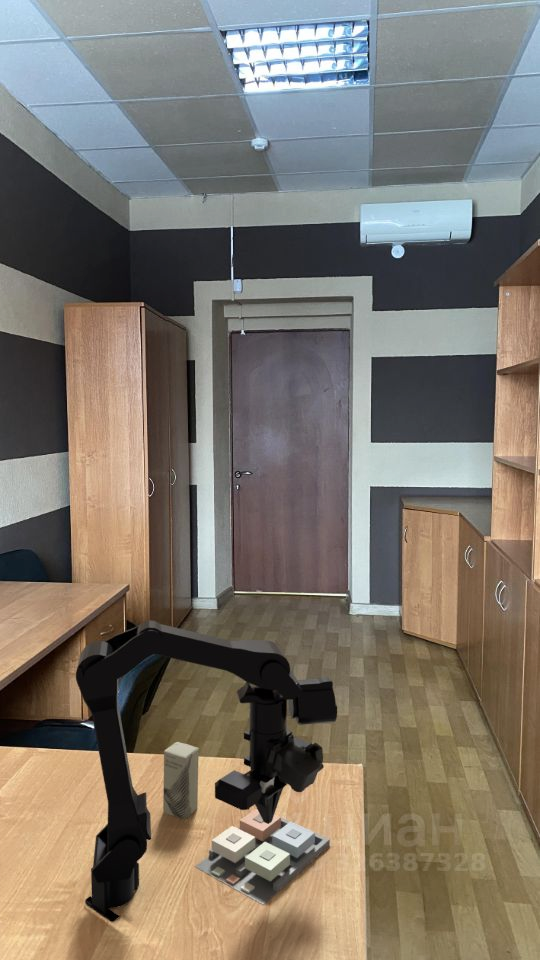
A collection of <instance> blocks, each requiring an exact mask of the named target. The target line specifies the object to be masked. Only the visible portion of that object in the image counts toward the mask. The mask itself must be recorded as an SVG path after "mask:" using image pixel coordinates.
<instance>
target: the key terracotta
mask: <svg viewBox="0 0 540 960" xmlns="http://www.w3.org/2000/svg"><path fill="white" fill-rule="evenodd" d="M281 818H282V817H281V816H279V815H276V814H275V813H274V817H273V820H272V822H271V823H269V824H267V823H265V822H264V821H263V819H262V817H261V815H260V813H259V811H258V809H257V807H256V808H255V809H253V810H252V811H251V812H249V813H247V814H246V815H245V816H244V817H242V818H240V820H239V828H240V830H242V831H244V832H246V833H248V834H250V835H252V836H254V837H255V838H257V839H259V840H261V841H264V840H265V839H267V838H268V837H269V836H270V835H272V834H273V833H274V832H275V831H277V830H278V829H279V828H281Z"/></svg>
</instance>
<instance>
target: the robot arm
mask: <svg viewBox="0 0 540 960" xmlns="http://www.w3.org/2000/svg"><path fill="white" fill-rule="evenodd" d="M152 655H157V656H161V657H165V658H170V659H175V660H178V661H183V662H187V663H191V664H195V665H199V666H200V665H201V666H205V667H209V668H213V669H217V670H223V671H225V672H228V673H231V674H232V675H235V676H236V677H238V678H239V679H241V680H242V681H244V682H245V683H244V685H243V686H241V687H240V688H239V689H237V690H236V695H237V698H238V701H239V703H240V704H249V729H248V730H247V729H246V731H244V732H243V739H244V740H246V741H248V742H249V754H248V755H246V756H245V757H243V765H245V766H246V767H249V768H250V770H249V771H246V773H242V772H240V771H237V770H235V769H234V770H232V771H231V772H229V773H227V774H225V775H224V776H222V777H221V778H220V779H218V780H217V781H216V782H215V783H214V798H215V799H216V800H218V801H221V802H223V803H226V804H227V805H230V806H231V807H234V808H236V809H238V810H240V811H247V810H249V809H250V808H252V807H253V806H254V805H255V807H256V808H257V809H258V811H259V813H260V815H261V817H262V819H263V821H264V822H265V823H267V824H269V823H271V822H272V820H273V817H274V814H275V813H276V809H277V807H278V805H279V804H278V803H279V801H280V798H281V794H282V792H283V789H284V788H285V787H286V786H290V789H292V790H293V791H294V792H296V793H301V792H302V793H303V792H304V791H305V790H306V789H307V788H308V787H310V786H311V785H313V784H314V783H315V781H316V779H317V775H318V773H319V772H320V771H322V770H324V764H323V763H324V752H323V747H322V746H321V745H320V744H319V743H317V742H314V743H312V742H311V741H310V742H309V741H307V740H304V739H301V738H297V737H295V736H294V734H293V731H291V730H288V728H287V725H288V724H287V723H288V721H287V720H288V719H287V718H288V714H287V713H289V717H290V719H291V720H292V719H293V720H294V719H296V723H297V724H298V726H302V725H315V724H316V725H317V724H327V723H329V724H330V723H336V721H337V717H338V705H337V703H336V695H335V691H334V686H333V685H334V682H333V680H332V679H331V678H330V677H329V676H322V677H318V678H310V679H309V678H307V679H297V677H296V675H295V674H294V672H293V671H291V666H290V663H289V661H288V659H287V657H286V656H285V654H284V652H283V651H282V649H281V647H280V646H279V644H277V643H276V642H274V641H271V640H264V639H263V640H262V639H243V640H242V639H241V640H229V639H225V638H220V637H217V636H212V635H208V634H204V633H199V632H195V631H190V630H187V629H182V628H178V627H175V626H170V625H166V624H161V623H159V622H157V620H156V621H155V620H151V619H150V620H149V619H148V620H146V621H143V622H141V623H140V624H138V625H136V626H135V627H132V628H130V629H127V630H124V631H122V632H119V633H117V634H114V635H113V636H111V637H109V638H107V639H105V640H104V641H103V640H102V641H101V640H99V641H92V642H91V643H89V644H87V645H86V646H85V647H84V648H83V649H82V650H81V652H80V654H79V658H78V663H77V666H76V671H75V682H76V684H77V687H78V689H79V691H80V694H81V697H82V699H83V701H84V703H85V705H86V707H87V708H88V711H89V712H90V713H91V716H92V723H93V728H94V732H95V739H96V743H97V748H98V756H99V760H100V765H101V771H102V777H103V783H104V789H105V794H106V799H107V824H106V825H105V826H104V827H103V828H102V829H100V831H99V832H97V834H96V835H95V841H94V853H93V861H92V863H93V864H92V867H91V868H90V870H91V871H90V875H91V876H90V877H91V878H90V879H91V882H90V883H91V884H90V885H91V896H88V897H87V898H86V899H85V900H84V904H85V906H86V905H87V907H89V908H90V909H92V910H93V911H94V912H96V913H98V914H99V915H100V916H102V917H104V918H105V919H106V920H107V921H110V923H111V922H115V921H116V920H118V919H119V918H120V917H121V915H119V914H117V913H116V912H114V911H113V910H112V909H114V908H116V909H117V908H119V907H122V906H125V905H126V904H128V903H129V902H130V901H131V900H132V899H133V898H134V896H135V891H137V890H138V888H139V887H140V863H139V862H138V861H139V860H141V859H142V857H143V856H144V855H145V854H146V852H147V849H148V841H150V840H152V825H151V822H152V821H151V812H150V811H149V809H148V807H147V801H148V800H147V792H145V791H144V792H142V793H140V794H138V793H137V792H136V790H135V788H134V786H133V781H132V775H131V770H130V763H129V759H128V758H129V757H128V752H127V747H126V741H125V734H124V729H123V728H124V727H123V725H122V718H121V711H120V706H119V679H120V678H122V677H123V676H126V675H127V674H128V673H130V672H131V671H132V670H134V669H135V668H136V667H137V666H138V665H140V664H141V663H142V662H143V661H145V660H146V659H148V658H149V657H151V656H152ZM287 706H288V707H287ZM287 708H288V709H287ZM287 711H288V712H287Z"/></svg>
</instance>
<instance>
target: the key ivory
mask: <svg viewBox="0 0 540 960" xmlns="http://www.w3.org/2000/svg"><path fill="white" fill-rule="evenodd" d="M211 848H212V851H213V852H215V853H217V854H219V855H221V856H223V857H225V858H227V859H229V860H231V861H232V862H234V863H236V862H237V861H239V860H240V859H241V858H242V857H244V856H245V855H246V854H247V853H249V852H250V851H251V850H253V849H254V848H255V837H254V836H252V835H250V834H248V833H246V832H244V831H242V830H240V829H239V828H238V827H235V826H233V825H231V826H229V827H228V828H227V829H225V830H223V832H221V833H220V834H218V835H217V836H216V837H214V838H213V839H212V840H211Z"/></svg>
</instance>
